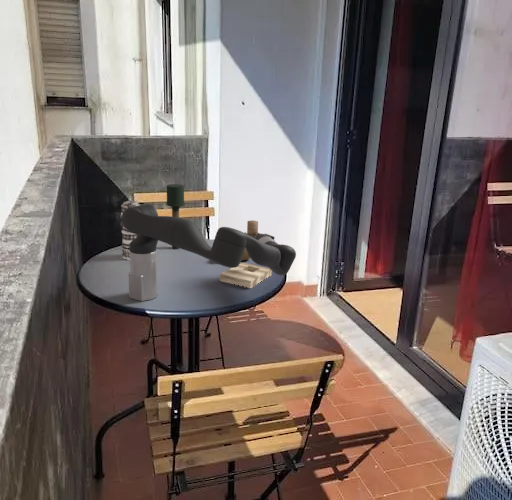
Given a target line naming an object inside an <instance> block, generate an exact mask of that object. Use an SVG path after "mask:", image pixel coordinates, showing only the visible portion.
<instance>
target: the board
mask: <svg viewBox="0 0 512 500" xmlns="http://www.w3.org/2000/svg"><path fill="white" fill-rule="evenodd" d="M272 272H273V271H272V270H271V269H270V268H269V267H266V266H261V265H257V264H256V265H255V264H251V263H245V262H240V264H239V266H237V267H235V268H229V269H227V270H224V271H223V272H221V273H220V274H219V282H222V283H227V284H231V285H234V284H235V286H238V285H239V287H242V286H244V287H243V288H246V287H247V288H246V289H250V288H251V289H252V288H254V287H256V286H257V285H259V284H261V283H262V282H264V281H265V280H267V279H268V277H269V276H270V277H272ZM270 277H269V278H270ZM266 278H267V279H266ZM264 279H265V280H264ZM263 280H264V281H263ZM261 281H262V282H261ZM260 282H261V283H260ZM258 283H259V284H258ZM255 285H256V286H255ZM253 286H254V287H253Z"/></svg>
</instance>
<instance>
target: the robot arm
mask: <svg viewBox="0 0 512 500" xmlns="http://www.w3.org/2000/svg"><path fill="white" fill-rule="evenodd" d="M122 224H123V225H124V227H125V228H126V229H127V230H128V231H129V232H131V233H133V234H138V236H137V237H136V238H135V239H134V240H133V241H131V242H130V244H129V251H130V260H129V269H130V270H129V272H128V273H127V274H128V275H127V278H128V293H129V297H128V298H130V299H132V300H136V301H139V302H145V301H150V300H153V299H155V298H157V297H158V272H157V271H158V269H157V267H158V266H157V265H158V263H157V245H158V242H162V243H164V244H167V245H169V246H171V247H172V246H174V247H177V248H179V249H180V250H182V251H183V250H184V251H187V252H190V253H193V254H196V255H198V256H199V257H202V258H204V259H206V260H209V261H211V262H213V263H215V264H217V265H220V266H223V267H226V268H229V269H231V268H235V267H237V266H239V264H240V263H242V261H241V259H242V256H243V253H244V250H245V248H246V250H247V252H248V254H249V256H250V259H251V261H252V262H253V263H255V264H256V265H257V266H261V267H265V268H269V269H271V270H272V272H273V274H276V275H277V276H285V275H287V274H288V273H289V271H290V269H291V268H292V265H293V263H294V261H295V259H296V257H297V251H296V250H295V248H293V247H292V246H290V245H288V244H287V245H286V244H281V243H280V244H279V243H278V242H276V240H275V236H273V235H270V234H268V233H260V232H258V235H257V236H253V235H248V234H247V232H246V231H245V232H244V231H241V230H238V229H236V228H232V227H229V226H221V227H219V228H218V229H217V231H216V234H215V237H214V240H213V243H212V246H211V245H209V243H208V242H207V241H206V239H205V236H203V234H202V232H201V230H200V229H199V227H198V226H197V225H196V223H194V222H193V221H191V220H188V219H185V218H181V217H179V218H178V217H172V215H171V216H169V215H168V216H167V215H165V216H164V215H159V214H158V211H157V209H156V207H155V206H154V205H153V204H149V203H147V204H146V203H145V204H139V205H138V206H133V207H129V208H127V209H126V210H125V211H124V212H123V214H122Z"/></svg>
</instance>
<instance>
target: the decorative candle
mask: <svg viewBox="0 0 512 500" xmlns="http://www.w3.org/2000/svg"><path fill="white" fill-rule="evenodd" d="M138 205H140V204H139V203H138V202H137V201H135V200H127V201H124V202H123V203H122V204H121V205H120V208H121V213H120V214H119V217H120V218H119V221H120V222H119V223H120V229H121V233H122V242H121V245H122V246H121V248H122V250H121V252H122V259H123V258H124V259H123V260H125V259H127V260H126V261H130V251H129V244H130V242H131V241H133V240H134V239H135V238H136V237H137V236H138V234H133V233H131V232H129V231H128V230H127V229H126V228H125V227H124V225H123V223H122V214H123V212H124V211H125V210H126V209H127V208H129V207H133V206H138Z"/></svg>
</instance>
